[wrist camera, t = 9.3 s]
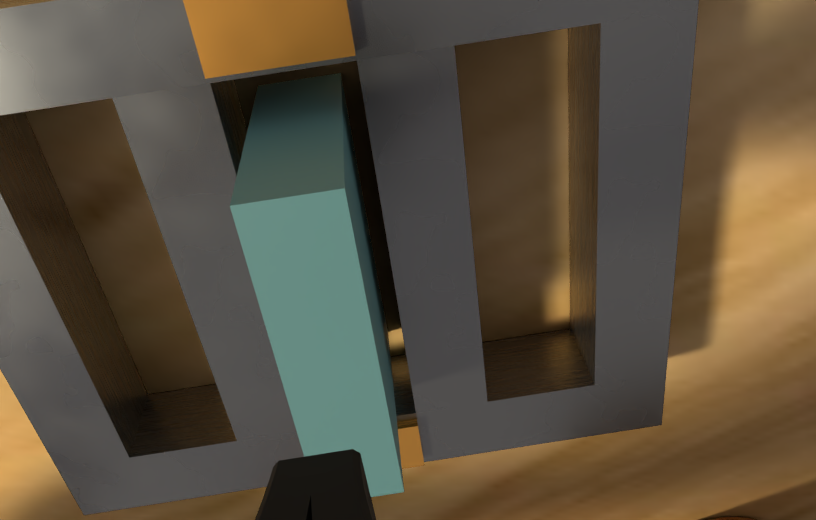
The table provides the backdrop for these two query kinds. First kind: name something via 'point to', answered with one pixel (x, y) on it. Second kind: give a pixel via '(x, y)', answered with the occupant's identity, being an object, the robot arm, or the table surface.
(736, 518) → the disposable coffee cup
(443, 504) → the table surface
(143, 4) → the rack
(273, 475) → the robot arm
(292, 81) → the panel
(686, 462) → the table surface
